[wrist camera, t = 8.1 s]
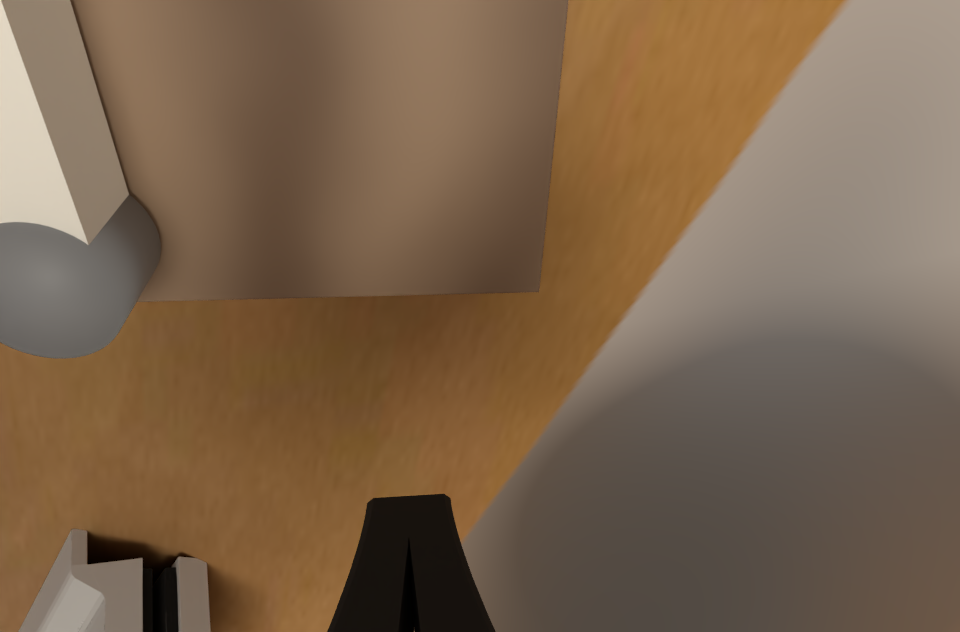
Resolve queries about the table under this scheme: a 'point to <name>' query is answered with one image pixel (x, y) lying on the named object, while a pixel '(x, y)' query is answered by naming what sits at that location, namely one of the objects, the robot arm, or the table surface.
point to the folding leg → (62, 194)
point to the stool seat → (333, 141)
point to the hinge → (119, 595)
